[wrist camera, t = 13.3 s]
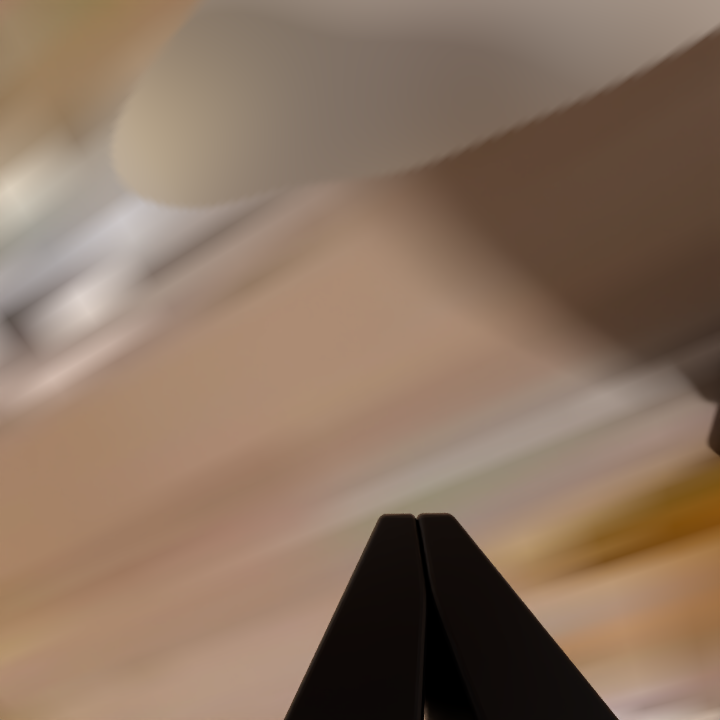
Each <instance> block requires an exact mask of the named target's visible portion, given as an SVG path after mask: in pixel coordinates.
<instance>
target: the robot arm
mask: <svg viewBox="0 0 720 720" xmlns="http://www.w3.org/2000/svg"><path fill="white" fill-rule="evenodd" d="M424 714H425V720H619V719H618V718H617V717H616V716H615V715H614V713H613V712H612V711H611V710H610V708H609V707H608V706H607V705H606V703H605V702H604V701H603V700H602V699H601V697H600V696H599V695H598V694H597V692H596V691H595V690H594V689H593V687H592V686H591V685H590V684H589V682H588V681H587V680H586V679H585V678H584V676H583V675H582V674H581V673H580V671H579V670H578V669H577V668H576V666H575V665H574V664H573V663H572V662H571V660H570V659H569V658H568V657H567V655H566V654H565V653H564V652H563V650H562V649H561V648H560V647H559V646H558V644H557V643H556V642H555V641H554V639H553V638H552V637H551V636H550V634H549V633H548V632H547V631H546V629H545V628H544V627H543V626H542V625H541V623H540V622H539V621H538V620H537V618H536V617H535V616H534V615H533V613H532V612H531V611H530V610H529V609H528V607H527V606H526V605H525V604H524V602H523V601H522V600H521V599H520V597H519V596H518V595H517V594H516V593H515V591H514V590H513V589H512V588H511V586H510V585H509V584H508V583H507V581H506V580H505V579H504V578H503V576H502V575H501V574H500V573H499V572H498V570H497V569H496V568H495V567H494V565H493V564H492V563H491V562H490V560H489V559H488V558H487V557H486V556H485V554H484V553H483V552H482V551H481V549H480V548H479V547H478V546H477V544H476V543H475V542H474V541H473V540H472V538H471V537H470V536H469V535H468V533H467V532H466V531H465V530H464V528H463V527H462V526H461V525H460V523H459V522H458V521H457V520H456V519H455V517H454V516H452V515H451V514H449V513H422V514H420V515H418V517H417V518H415V516H414V515H412V514H384V515H382V516H381V517H380V518H379V519H378V521H377V523H376V525H375V528H374V530H373V532H372V534H371V536H370V538H369V540H368V542H367V545H366V547H365V549H364V551H363V553H362V555H361V557H360V559H359V562H358V564H357V566H356V568H355V570H354V572H353V574H352V576H351V578H350V581H349V583H348V585H347V587H346V589H345V591H344V593H343V595H342V598H341V600H340V602H339V604H338V606H337V608H336V610H335V612H334V615H333V617H332V619H331V621H330V623H329V625H328V627H327V629H326V632H325V634H324V636H323V638H322V640H321V642H320V644H319V646H318V648H317V651H316V653H315V655H314V657H313V659H312V661H311V663H310V665H309V668H308V670H307V672H306V674H305V676H304V678H303V680H302V682H301V685H300V687H299V689H298V691H297V693H296V695H295V697H294V699H293V702H292V704H291V706H290V708H289V710H288V712H287V714H286V716H285V718H284V720H424Z"/></svg>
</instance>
